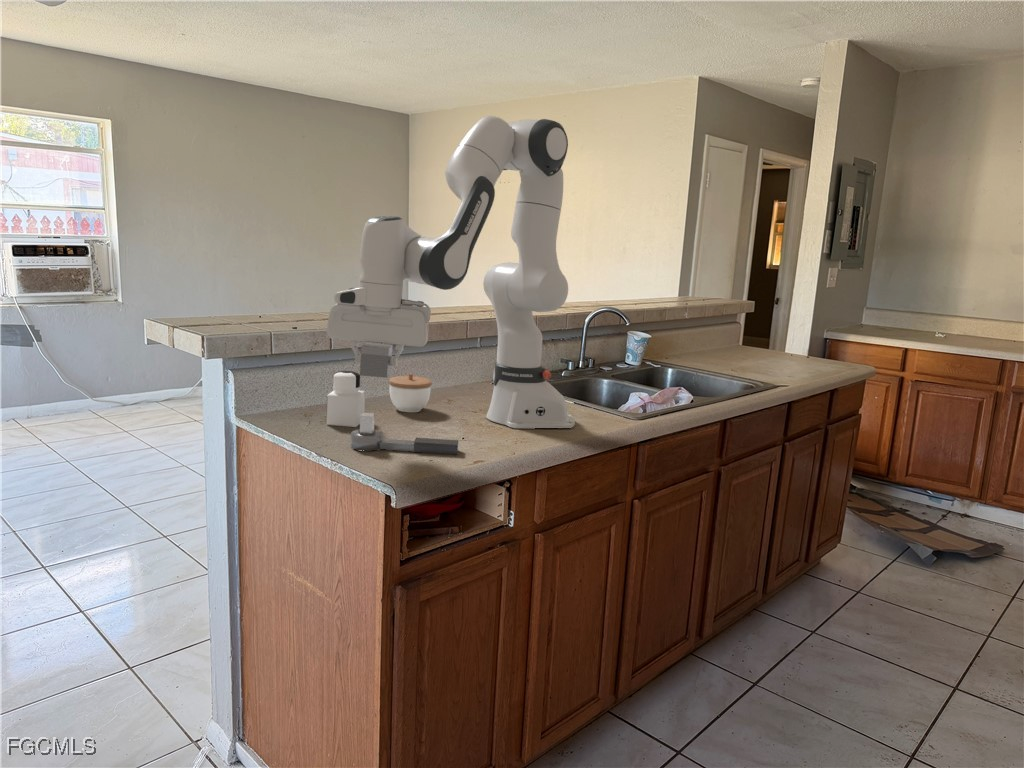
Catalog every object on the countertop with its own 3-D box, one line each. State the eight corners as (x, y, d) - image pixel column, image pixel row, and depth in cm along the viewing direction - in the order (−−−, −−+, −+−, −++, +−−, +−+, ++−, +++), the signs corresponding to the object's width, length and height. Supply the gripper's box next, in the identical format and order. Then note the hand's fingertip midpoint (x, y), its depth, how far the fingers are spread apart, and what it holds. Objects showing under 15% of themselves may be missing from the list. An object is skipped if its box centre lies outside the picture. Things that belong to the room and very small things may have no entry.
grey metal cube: (390, 373, 145) (392, 345, 144) (386, 377, 140) (388, 348, 139) (364, 370, 145) (366, 342, 144) (359, 375, 140) (361, 346, 139)
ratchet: (458, 448, 147) (460, 416, 146) (456, 457, 141) (458, 424, 140) (353, 441, 146) (354, 409, 145) (347, 450, 140) (348, 417, 139)
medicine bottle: (334, 417, 164) (335, 368, 162) (364, 419, 164) (366, 370, 162) (325, 425, 157) (326, 373, 155) (356, 427, 157) (358, 376, 155)
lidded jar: (382, 412, 172) (384, 375, 170) (394, 403, 183) (396, 368, 181) (424, 416, 171) (426, 379, 169) (434, 407, 182) (436, 372, 180)
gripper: (432, 300, 143) (427, 366, 146) (333, 291, 142) (330, 357, 145) (429, 303, 137) (424, 371, 140) (326, 293, 136) (323, 362, 139)
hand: (376, 364), depth 142 cm, fingers closed on grey metal cube, 5 cm apart
